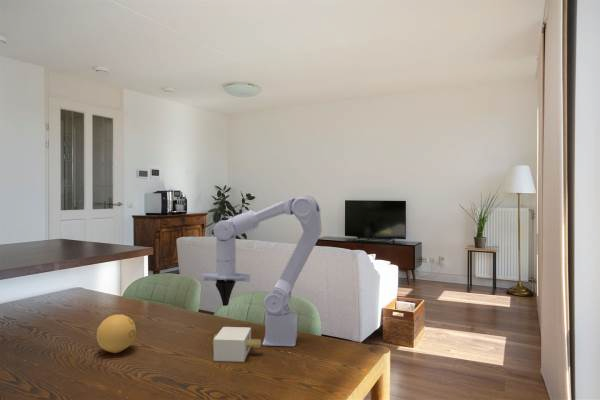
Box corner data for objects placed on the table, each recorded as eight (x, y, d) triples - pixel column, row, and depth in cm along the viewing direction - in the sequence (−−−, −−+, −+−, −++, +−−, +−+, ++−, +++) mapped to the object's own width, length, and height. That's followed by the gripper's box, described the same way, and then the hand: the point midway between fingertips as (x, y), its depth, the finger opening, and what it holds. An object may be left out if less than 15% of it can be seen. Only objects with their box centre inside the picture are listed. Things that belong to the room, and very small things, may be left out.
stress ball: (101, 363, 106) (131, 339, 106) (81, 333, 107) (111, 308, 107) (122, 355, 115) (149, 332, 116) (103, 327, 117) (130, 304, 117)
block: (250, 347, 115) (251, 327, 115) (244, 361, 105) (244, 340, 105) (223, 346, 116) (223, 326, 116) (213, 360, 106) (213, 339, 106)
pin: (261, 348, 112) (261, 333, 112) (259, 353, 108) (259, 338, 108) (216, 346, 113) (216, 332, 113) (212, 352, 109) (212, 337, 109)
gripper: (198, 261, 119) (198, 308, 119) (247, 262, 118) (247, 309, 118) (205, 257, 126) (205, 301, 126) (251, 258, 125) (251, 302, 125)
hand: (225, 304), depth 123 cm, fingers closed
